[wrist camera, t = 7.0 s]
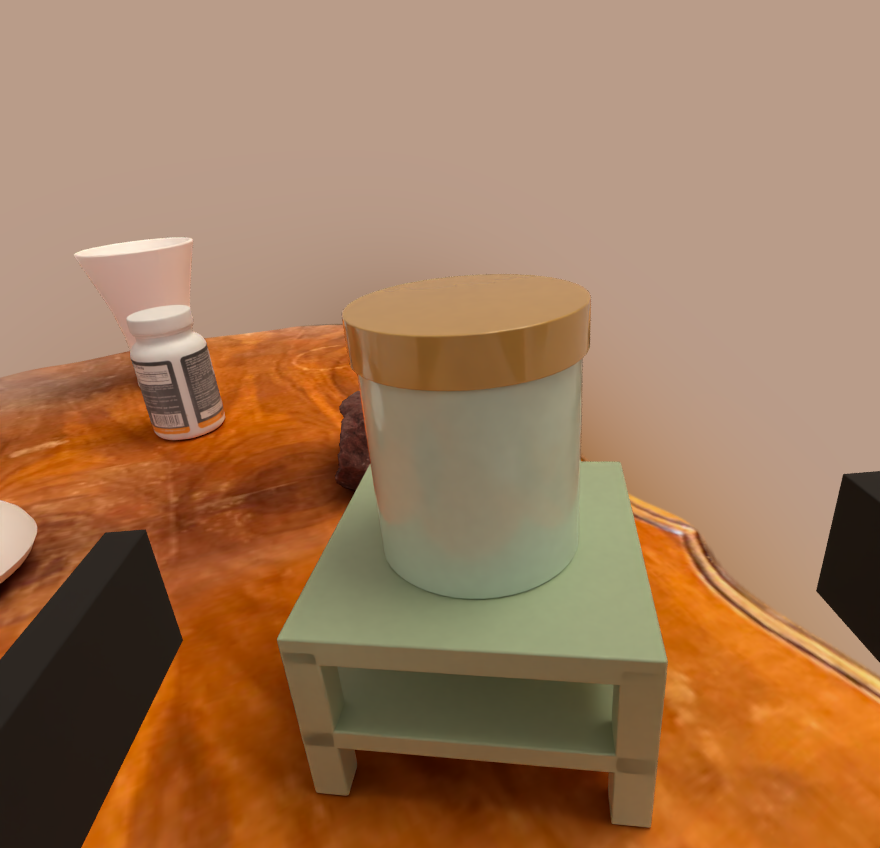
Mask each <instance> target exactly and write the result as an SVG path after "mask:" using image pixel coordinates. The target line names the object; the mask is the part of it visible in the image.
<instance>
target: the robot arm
mask: <svg viewBox="0 0 880 848" xmlns="http://www.w3.org/2000/svg"><path fill="white" fill-rule="evenodd" d="M816 591H817V592H818V593H819V594H820V596H821V597H822V598H823V599H824V600H825V601H826V602H827V604H829V606H830V607H831V608H832V609H833V610H834V612H835V613H836V614H837V615H838V616H839V617H840V618H841V619H842V621H843V622H844V623H845V624H846V625H847V626H848V627H849V628H850V629H851V631H852V632H853V633H854V634H855V635H856V636H857V637H858V639H859V640H860V641H861V642H862V643H863V644H864V645H865V647H866V648H867V649H868V650H869V651H870V652H871V653H872V654H873V656H874V657H875V658H876V659H877V660H878V661H879V662H880V471H877V472H864V473H852V474H843V478H842V482H841V486H840V490H839V495H838V499H837V503H836V508H835V512H834V516H833V521H832V525H831V529H830V534H829V538H828V543H827V547H826V551H825V556H824V560H823V564H822V568H821V573H820V577H819V581H818V586H817V590H816ZM182 641H183V639H182V636H181V633H180V630H179V627H178V624H177V621H176V618H175V615H174V612H173V609H172V606H171V604H170V601H169V598H168V595H167V592H166V589H165V586H164V583H163V580H162V577H161V574H160V571H159V568H158V565H157V562H156V559H155V556H154V553H153V550H152V547H151V544H150V541H149V538H148V535H147V532H146V530H134V531H121V532H109V533H105V534H104V535H103V536H102V537H101V539H100V540H99V541H98V542H97V543H96V545H95V546H94V547H93V548H92V550H91V551H90V552H89V553H88V554H87V556H86V557H85V558H84V559H83V560H82V562H81V563H80V564H79V565H78V566H77V568H76V569H75V570H74V571H73V572H72V574H71V575H70V576H69V577H68V578H67V580H66V581H65V582H64V583H63V585H62V586H61V587H60V588H59V589H58V591H57V592H56V593H55V594H54V595H53V597H52V598H51V599H50V600H49V601H48V603H47V604H46V605H45V606H44V607H43V609H42V610H41V611H40V612H39V614H38V615H37V616H36V617H35V618H34V620H33V621H32V622H31V623H30V624H29V626H28V627H27V628H26V629H25V630H24V632H23V633H22V634H21V635H20V636H19V638H18V639H17V640H16V641H15V642H14V644H13V645H12V646H11V647H10V649H9V650H8V651H7V652H6V653H5V655H4V656H3V657H2V658H1V659H0V848H81V847H82V845H83V843H84V841H85V839H86V837H87V835H88V833H89V831H90V828H91V826H92V824H93V822H94V820H95V818H96V816H97V814H98V812H99V810H100V808H101V806H102V804H103V802H104V800H105V798H106V796H107V794H108V792H109V790H110V788H111V786H112V784H113V782H114V780H115V777H116V775H117V773H118V771H119V769H120V767H121V765H122V763H123V761H124V759H125V757H126V755H127V753H128V751H129V749H130V747H131V745H132V743H133V741H134V739H135V737H136V735H137V733H138V731H139V728H140V726H141V724H142V722H143V720H144V718H145V716H146V714H147V712H148V710H149V708H150V706H151V704H152V702H153V700H154V698H155V696H156V694H157V692H158V690H159V688H160V686H161V684H162V682H163V679H164V677H165V675H166V673H167V671H168V669H169V667H170V665H171V663H172V661H173V659H174V657H175V655H176V653H177V651H178V649H179V647H180V645H181V643H182Z"/></svg>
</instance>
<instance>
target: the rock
mask: <svg viewBox="0 0 880 848" xmlns="http://www.w3.org/2000/svg"><path fill="white" fill-rule="evenodd" d="M339 407H340V409H339V410H341V411H340V412H341V413H342V415H343V417H344V419H343V420H342V421H341V423H342V424H341V434H340V443H339V446H340V452H339V454H338V460H339V468H338V471H337V473H336V475H335V477H336V479H335V480H336V482H337V483H338V484H340V485H341V486H342V487H345V488H349V489H353V490H356V489H357V488H358V486H359V484H360V482H361V480H362V478H363V476H364V474H365V473H366V471H367V469H368V467H369V465H370V457H369V451H368V444H367V437H366V430H365V423H364V417H363V410H362V403H361V396H360V391H357V392H355V393H354V394H352V395H350V396H349V397H348V398H347V399H345V400H344V401H342V404H341V405H340V406H339Z"/></svg>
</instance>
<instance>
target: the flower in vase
mask: <svg viewBox="0 0 880 848" xmlns="http://www.w3.org/2000/svg"><path fill="white" fill-rule="evenodd" d="M36 534H37V525H36V522H35V521H34V519H33V518H32V517H31V516H30V515H28V514H27V513H26V512H25V511H24V510H23V509H21V508H20V507H18V506H17V505H14V504H11V503H8V502H5V501H2V500H0V584H1V583H2V582H3V581H4V580H6V579H7V578H8V577H9V576H10V575H11V574H13V573H14V572H15V571H16V570H17V569H18V567H19V566H20V565H21V564H22V563H23V562H24V560H25V559H26V558H27V556H28V555H29V553H30V551H31V549H32V546H33V543H34V540H35V537H36Z"/></svg>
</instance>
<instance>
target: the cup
mask: <svg viewBox="0 0 880 848" xmlns="http://www.w3.org/2000/svg"><path fill="white" fill-rule="evenodd" d="M192 248H193V240H192V239H191V238H186V237H176V238H159V239H149V240H140V241H131V242H125V243H117V244H111V245H106V246H100V247H95V248H90V249H86V250H82V251H79V252H77V253H75V254H74V257H75V259H76V260H77V261H78V263H79V264H80V266H81V267H82V269H83V270H84V271H85V273H86V274H87V276H88V277H89V279H90V280H91V281H92V283H93V284H94V286H95V287H96V289H97V290H98V292H99V293H100V295H101V296H102V298H103V299H104V301H105V302H106V304H107V305H108V307H109V308H110V310H111V311H112V313H113V315H114V317H115V319H116V321H117V323H118V325H119V326H120V329H121V331H122V332H123V334H124V336H125V339H126V342H127V344H128V347H129V349H130V351H131V348H132V346H133V345H134V344H135V343H136V338H135V337H134V336H133V335H132V334H131V333H130V332H129V328H128V325H127V321H126V318H127V317H128V316H129V315H131V314H133V313H136V312H139V311H142V310H146V309H150V308H155V307H160V306H168V305H186V306H189V307H190V281H191V262H192ZM138 384H139V382H138ZM139 386H140V385H139Z"/></svg>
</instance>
